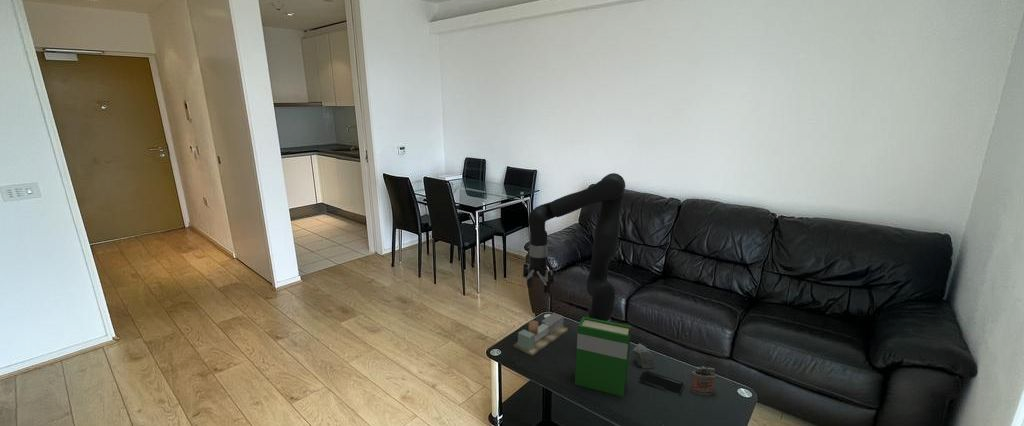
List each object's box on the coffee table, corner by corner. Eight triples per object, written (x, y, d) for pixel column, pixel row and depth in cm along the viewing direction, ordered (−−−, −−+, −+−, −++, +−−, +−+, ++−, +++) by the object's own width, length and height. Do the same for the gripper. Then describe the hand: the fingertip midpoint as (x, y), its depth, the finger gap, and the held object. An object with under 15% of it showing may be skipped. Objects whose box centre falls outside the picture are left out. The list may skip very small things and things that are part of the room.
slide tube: (544, 328, 192) (545, 311, 190) (552, 331, 190) (552, 314, 187) (521, 343, 179) (521, 326, 177) (528, 347, 177) (529, 329, 175)
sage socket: (523, 342, 182) (523, 329, 181) (534, 347, 178) (534, 334, 177) (517, 346, 180) (518, 332, 178) (529, 351, 176) (529, 337, 174)
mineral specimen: (638, 354, 175) (644, 339, 172) (654, 369, 169) (660, 353, 165) (626, 359, 171) (631, 344, 168) (642, 374, 165) (648, 358, 161)
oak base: (550, 323, 201) (550, 321, 200) (568, 330, 194) (568, 328, 194) (513, 346, 181) (513, 344, 180) (532, 355, 174) (532, 353, 174)
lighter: (690, 393, 153) (694, 369, 150) (688, 387, 156) (691, 363, 154) (714, 396, 152) (718, 371, 149) (711, 390, 155) (715, 366, 152)
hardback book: (626, 384, 157) (631, 326, 151) (623, 396, 151) (628, 336, 145) (579, 372, 164) (582, 316, 158) (574, 384, 157) (578, 325, 151)
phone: (644, 369, 165) (684, 383, 157) (643, 372, 165) (684, 385, 157) (638, 380, 158) (680, 395, 151) (637, 383, 159) (680, 397, 151)
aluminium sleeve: (553, 323, 199) (554, 312, 197) (563, 327, 195) (563, 316, 194) (541, 331, 191) (541, 320, 190) (550, 335, 188) (551, 324, 187)
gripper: (519, 252, 178) (519, 288, 182) (547, 260, 169) (546, 297, 173) (530, 248, 183) (529, 282, 187) (557, 255, 175) (556, 291, 179)
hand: (537, 289), depth 180 cm, fingers open, 8 cm apart
